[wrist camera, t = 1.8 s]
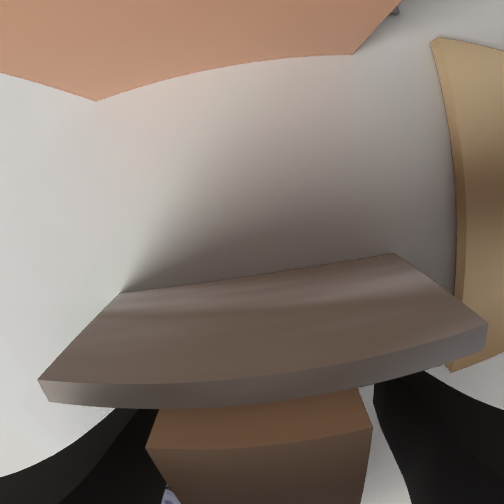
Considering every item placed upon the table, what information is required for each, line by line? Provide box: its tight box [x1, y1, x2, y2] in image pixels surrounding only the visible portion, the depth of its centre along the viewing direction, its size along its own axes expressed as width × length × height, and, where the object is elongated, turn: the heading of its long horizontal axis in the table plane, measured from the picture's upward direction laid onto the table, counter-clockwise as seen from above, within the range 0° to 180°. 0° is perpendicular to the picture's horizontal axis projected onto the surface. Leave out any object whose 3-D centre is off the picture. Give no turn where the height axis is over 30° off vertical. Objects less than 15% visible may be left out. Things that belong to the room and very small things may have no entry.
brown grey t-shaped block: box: [37, 253, 489, 504], centre depth 7 cm, size 6×9×6 cm, turn 99°
